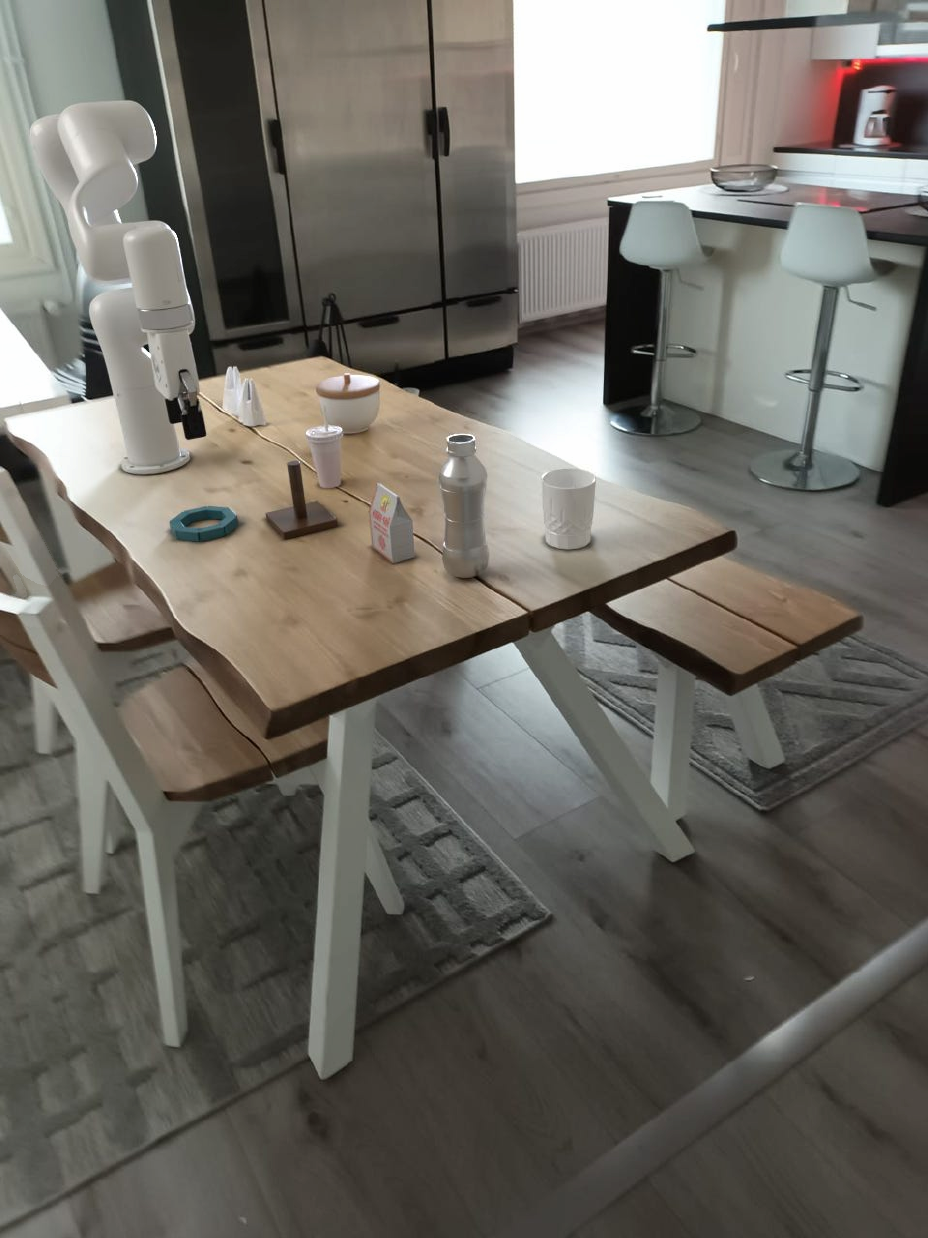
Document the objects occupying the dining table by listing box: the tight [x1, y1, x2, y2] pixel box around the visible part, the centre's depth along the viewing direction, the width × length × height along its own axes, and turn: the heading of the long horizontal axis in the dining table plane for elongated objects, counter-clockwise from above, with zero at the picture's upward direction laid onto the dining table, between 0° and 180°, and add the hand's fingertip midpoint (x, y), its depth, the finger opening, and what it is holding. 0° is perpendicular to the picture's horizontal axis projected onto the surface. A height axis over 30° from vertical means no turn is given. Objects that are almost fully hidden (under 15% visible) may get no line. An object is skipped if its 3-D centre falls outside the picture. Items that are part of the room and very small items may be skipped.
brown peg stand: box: [265, 460, 339, 540], centre depth 150 cm, size 9×9×10 cm
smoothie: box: [305, 406, 344, 489], centre depth 163 cm, size 6×6×14 cm
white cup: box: [541, 468, 597, 550], centre depth 141 cm, size 8×8×10 cm
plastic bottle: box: [438, 433, 490, 579], centre depth 130 cm, size 6×7×20 cm
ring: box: [169, 505, 239, 543], centre depth 152 cm, size 10×10×2 cm
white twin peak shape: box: [221, 365, 267, 427], centre depth 197 cm, size 12×4×11 cm, turn 40°
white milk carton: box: [368, 482, 416, 564], centre depth 140 cm, size 4×7×10 cm, turn 31°
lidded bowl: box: [315, 372, 381, 435], centre depth 190 cm, size 13×13×11 cm
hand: (187, 429), depth 148 cm, fingers open, 9 cm apart
